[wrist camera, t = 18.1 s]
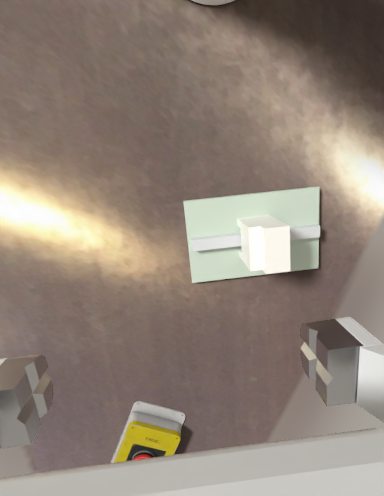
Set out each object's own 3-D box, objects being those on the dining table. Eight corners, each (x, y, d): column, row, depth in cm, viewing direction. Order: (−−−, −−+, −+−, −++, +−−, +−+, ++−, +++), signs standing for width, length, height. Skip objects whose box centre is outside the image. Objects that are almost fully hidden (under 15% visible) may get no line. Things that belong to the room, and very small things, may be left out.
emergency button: (104, 488, 50) (132, 418, 47) (109, 463, 54) (135, 397, 51) (157, 500, 51) (188, 432, 48) (158, 475, 56) (187, 411, 52)
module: (239, 256, 44) (253, 275, 36) (237, 218, 42) (251, 230, 35) (271, 252, 44) (292, 271, 36) (269, 214, 42) (291, 225, 35)
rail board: (191, 280, 45) (192, 286, 43) (183, 200, 42) (183, 202, 40) (315, 266, 46) (322, 271, 44) (316, 186, 43) (324, 187, 41)
